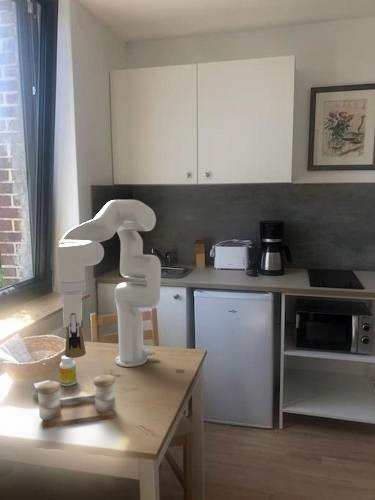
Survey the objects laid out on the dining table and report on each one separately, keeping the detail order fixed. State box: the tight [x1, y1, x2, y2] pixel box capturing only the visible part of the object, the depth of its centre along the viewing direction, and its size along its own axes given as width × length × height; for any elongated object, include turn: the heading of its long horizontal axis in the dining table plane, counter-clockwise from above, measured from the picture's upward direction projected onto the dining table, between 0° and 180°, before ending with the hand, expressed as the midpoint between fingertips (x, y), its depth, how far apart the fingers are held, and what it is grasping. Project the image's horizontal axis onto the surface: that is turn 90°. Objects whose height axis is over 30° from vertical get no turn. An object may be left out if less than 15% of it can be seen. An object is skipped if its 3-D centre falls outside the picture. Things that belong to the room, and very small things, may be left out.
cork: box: [64, 319, 87, 359], centre depth 126 cm, size 6×6×11 cm
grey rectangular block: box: [33, 379, 50, 400], centre depth 142 cm, size 5×4×4 cm
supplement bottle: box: [59, 354, 77, 387], centre depth 150 cm, size 5×5×10 cm
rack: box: [38, 374, 116, 429], centre depth 129 cm, size 22×10×10 cm, turn 105°
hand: (74, 346), depth 126 cm, fingers closed on cork, 3 cm apart
